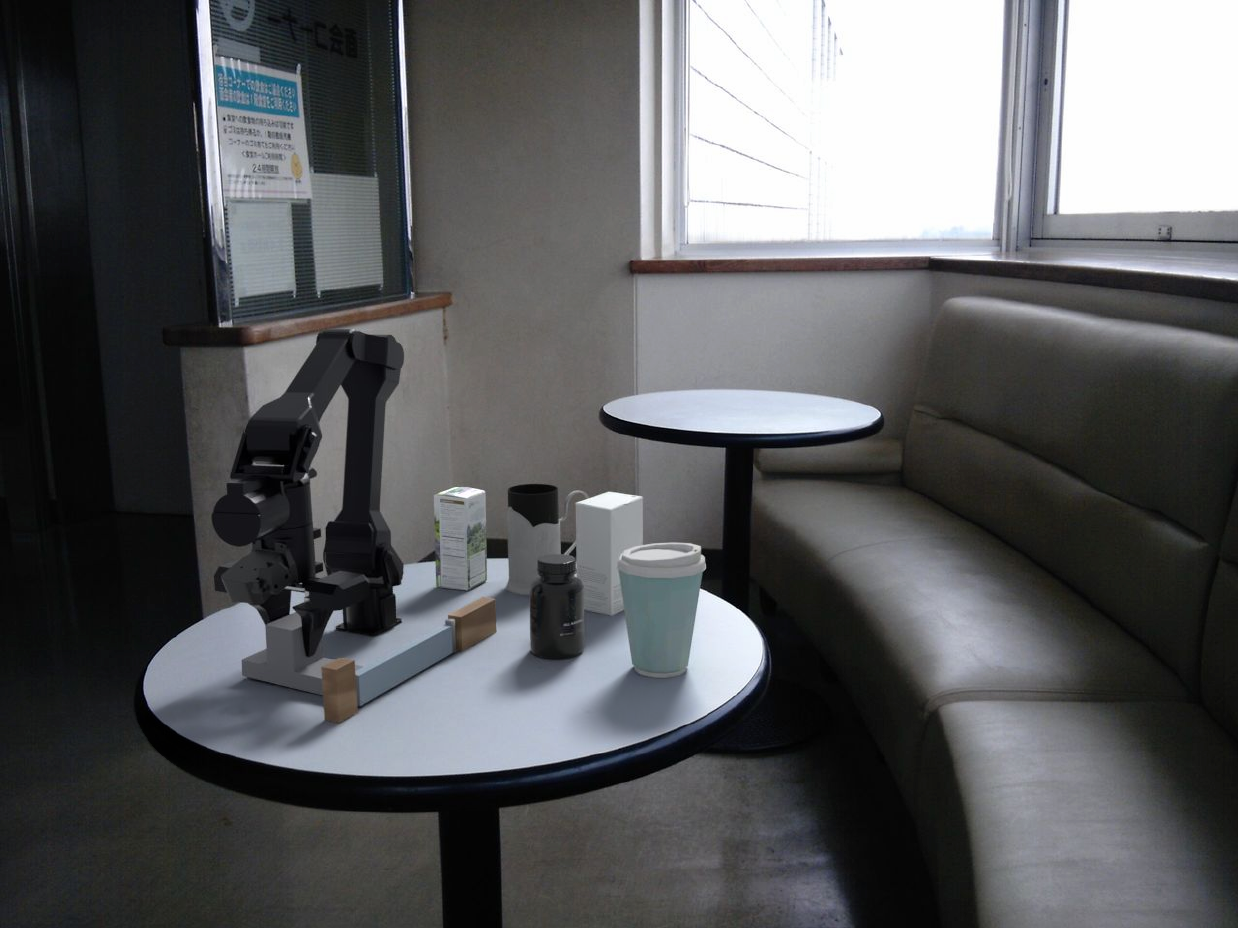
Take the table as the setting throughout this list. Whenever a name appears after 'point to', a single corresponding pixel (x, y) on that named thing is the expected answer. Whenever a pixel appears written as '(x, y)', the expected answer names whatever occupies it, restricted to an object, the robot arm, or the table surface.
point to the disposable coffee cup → (660, 604)
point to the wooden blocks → (340, 673)
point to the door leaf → (405, 662)
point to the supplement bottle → (556, 608)
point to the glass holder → (532, 531)
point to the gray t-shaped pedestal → (287, 658)
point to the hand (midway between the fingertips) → (295, 653)
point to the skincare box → (605, 546)
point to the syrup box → (460, 538)
